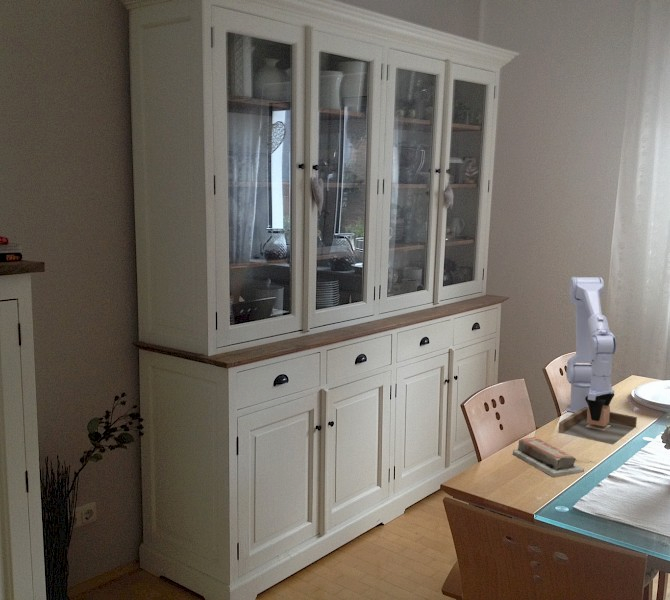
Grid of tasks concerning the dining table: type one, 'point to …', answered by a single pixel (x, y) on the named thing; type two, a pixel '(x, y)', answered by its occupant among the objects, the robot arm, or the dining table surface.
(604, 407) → the cube
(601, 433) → the tray
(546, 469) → the packaged product
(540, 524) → the dining table surface
